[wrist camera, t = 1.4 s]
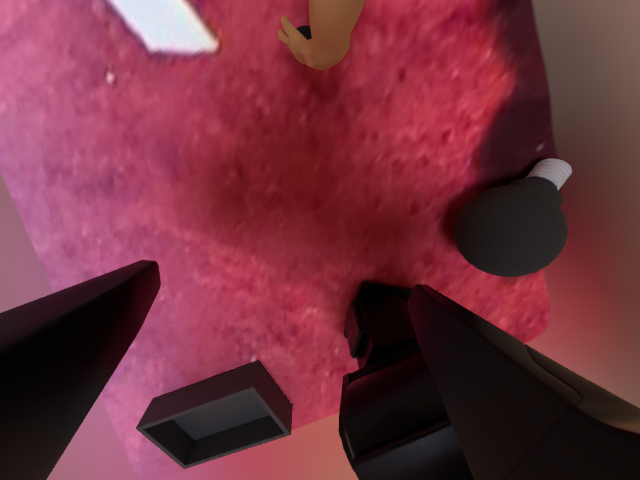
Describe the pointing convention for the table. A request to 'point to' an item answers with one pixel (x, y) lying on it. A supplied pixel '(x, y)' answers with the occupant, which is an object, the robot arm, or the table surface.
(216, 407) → the tray
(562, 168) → the light bulb
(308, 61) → the action figure
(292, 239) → the table surface
